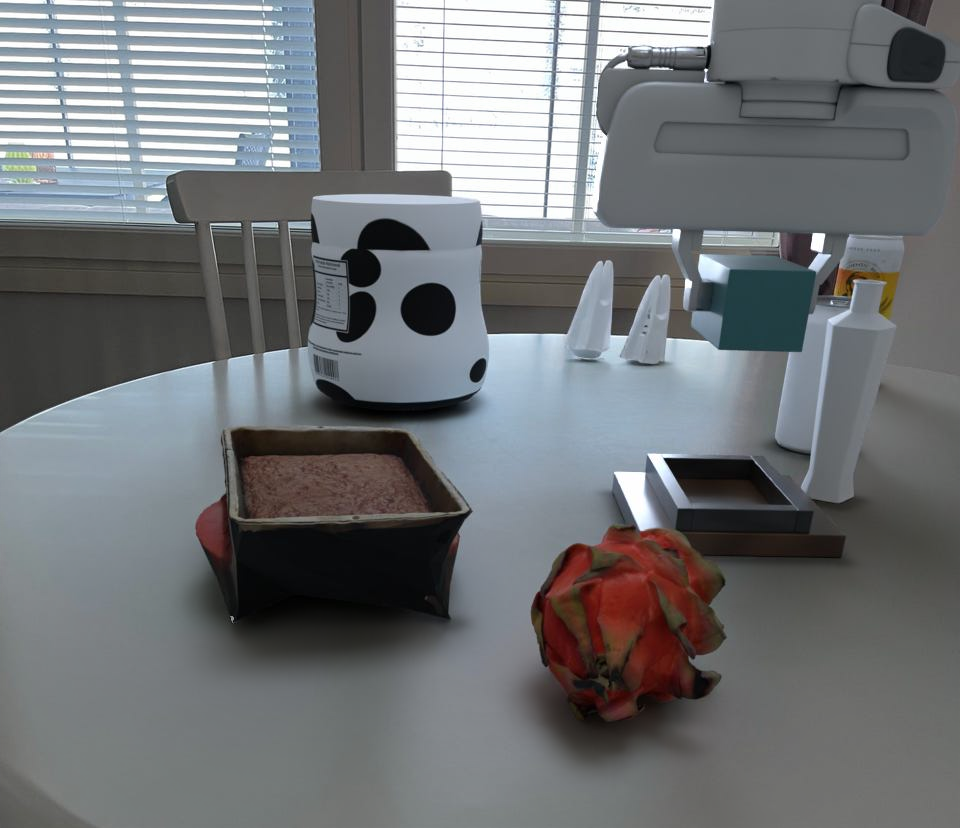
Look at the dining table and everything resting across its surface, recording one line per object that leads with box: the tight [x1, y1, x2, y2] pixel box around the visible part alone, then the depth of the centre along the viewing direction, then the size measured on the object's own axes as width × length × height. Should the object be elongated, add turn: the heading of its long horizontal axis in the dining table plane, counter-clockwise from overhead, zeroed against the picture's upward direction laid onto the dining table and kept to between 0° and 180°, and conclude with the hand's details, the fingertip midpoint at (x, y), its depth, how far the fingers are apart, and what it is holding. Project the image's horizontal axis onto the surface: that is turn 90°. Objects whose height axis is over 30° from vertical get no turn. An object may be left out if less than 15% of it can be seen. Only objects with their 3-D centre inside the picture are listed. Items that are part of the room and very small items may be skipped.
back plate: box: [612, 453, 847, 558], centre depth 64 cm, size 13×12×3 cm
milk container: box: [307, 193, 490, 412], centre depth 88 cm, size 17×17×18 cm
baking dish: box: [194, 424, 474, 623], centre depth 52 cm, size 14×18×10 cm
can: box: [774, 295, 852, 455], centre depth 79 cm, size 6×6×12 cm
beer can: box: [833, 234, 906, 321], centre depth 101 cm, size 6×6×15 cm
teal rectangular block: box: [690, 253, 816, 353], centre depth 58 cm, size 5×8×4 cm, turn 0°
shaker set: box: [563, 259, 672, 365], centre depth 109 cm, size 12×4×11 cm, turn 82°
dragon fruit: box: [530, 523, 728, 724], centre depth 42 cm, size 8×8×12 cm
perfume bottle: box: [800, 280, 898, 504], centre depth 66 cm, size 5×4×15 cm
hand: (747, 311), depth 58 cm, fingers closed on teal rectangular block, 5 cm apart
